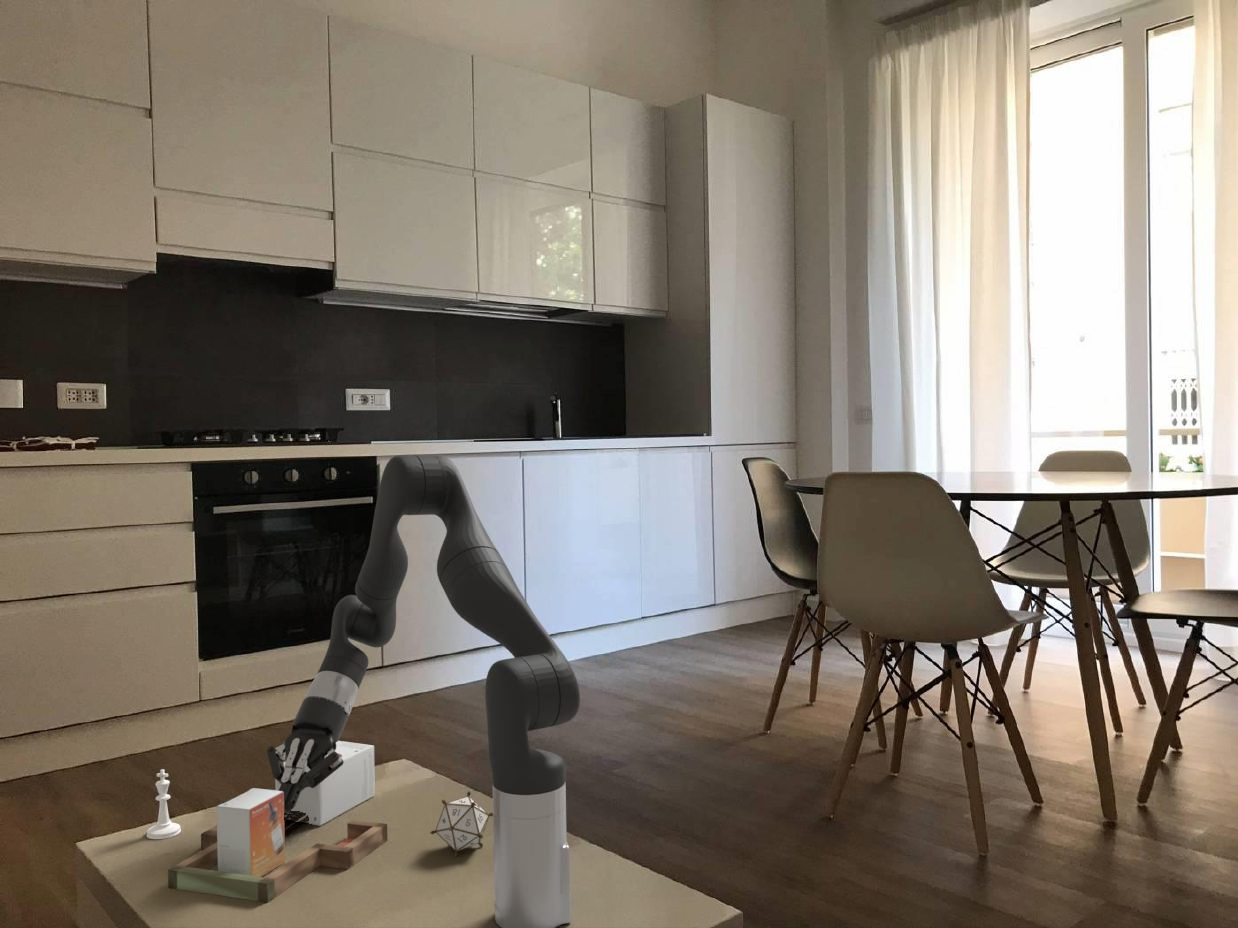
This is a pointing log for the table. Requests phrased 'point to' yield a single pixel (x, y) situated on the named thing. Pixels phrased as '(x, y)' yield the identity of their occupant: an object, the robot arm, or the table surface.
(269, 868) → the small box
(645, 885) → the table surface
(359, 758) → the supplement box
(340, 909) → the table surface
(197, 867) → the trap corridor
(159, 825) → the chess piece
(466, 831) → the game die
